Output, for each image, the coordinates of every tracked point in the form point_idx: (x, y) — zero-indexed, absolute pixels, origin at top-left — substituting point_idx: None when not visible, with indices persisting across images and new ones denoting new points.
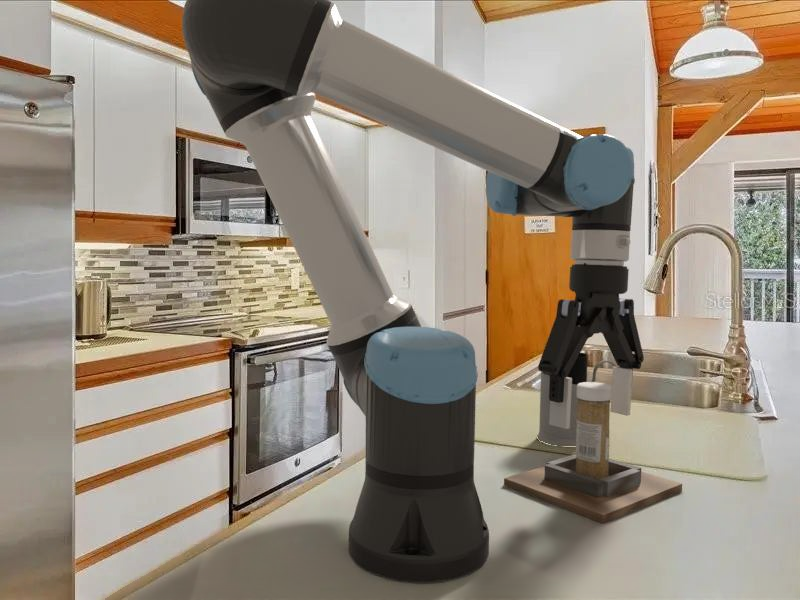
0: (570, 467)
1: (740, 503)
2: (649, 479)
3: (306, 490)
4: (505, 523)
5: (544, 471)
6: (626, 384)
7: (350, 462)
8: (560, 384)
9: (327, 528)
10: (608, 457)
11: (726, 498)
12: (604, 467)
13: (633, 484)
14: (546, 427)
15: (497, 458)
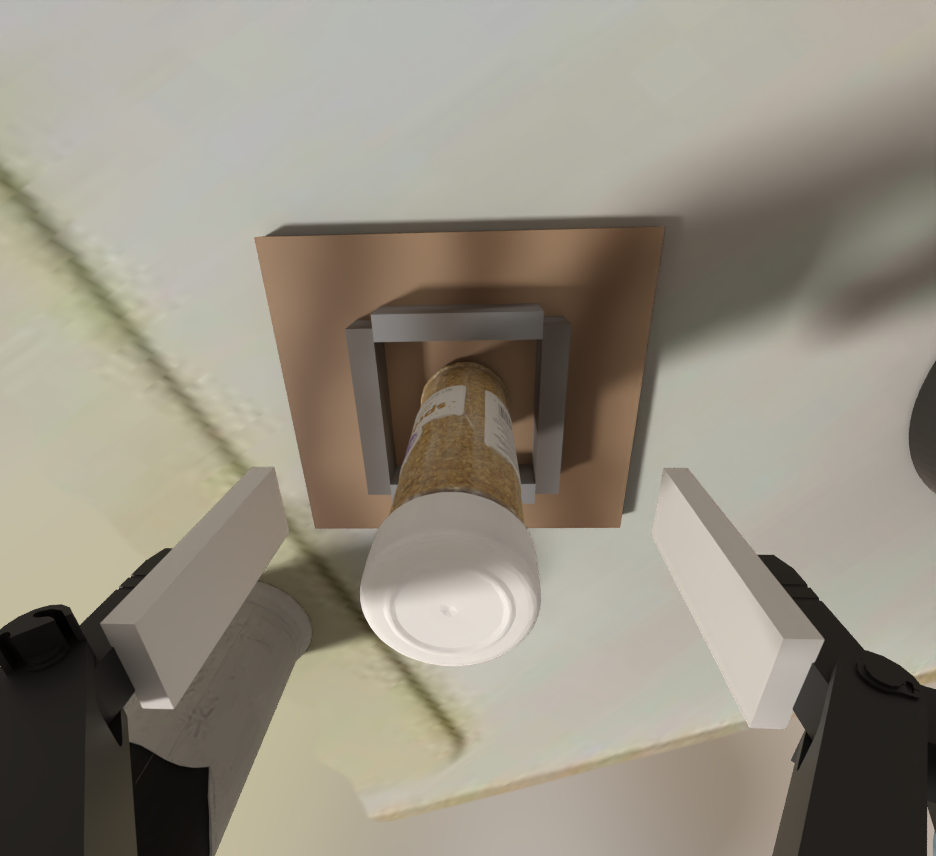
0: None
1: (179, 50)
2: (315, 318)
3: None
4: (820, 372)
5: None
6: (200, 565)
7: (731, 731)
8: (823, 630)
9: None
10: (446, 389)
11: (186, 109)
12: (468, 378)
13: (410, 307)
14: (290, 663)
15: None
